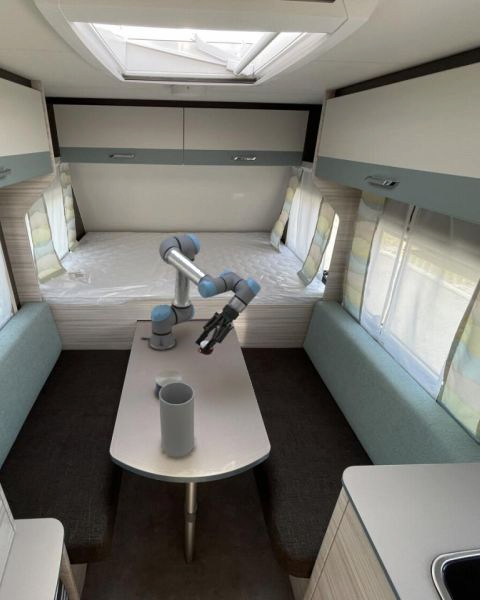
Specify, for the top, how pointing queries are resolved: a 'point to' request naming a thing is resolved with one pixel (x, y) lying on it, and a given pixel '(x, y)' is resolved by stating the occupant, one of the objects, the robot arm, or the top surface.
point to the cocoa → (206, 343)
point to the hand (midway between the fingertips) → (200, 347)
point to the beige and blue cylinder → (166, 379)
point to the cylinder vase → (177, 418)
